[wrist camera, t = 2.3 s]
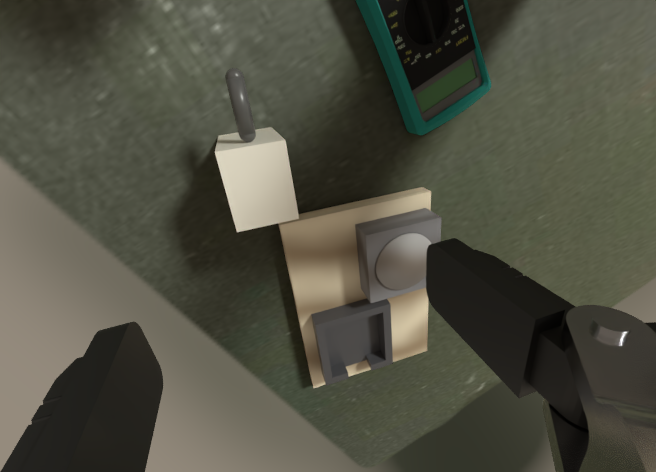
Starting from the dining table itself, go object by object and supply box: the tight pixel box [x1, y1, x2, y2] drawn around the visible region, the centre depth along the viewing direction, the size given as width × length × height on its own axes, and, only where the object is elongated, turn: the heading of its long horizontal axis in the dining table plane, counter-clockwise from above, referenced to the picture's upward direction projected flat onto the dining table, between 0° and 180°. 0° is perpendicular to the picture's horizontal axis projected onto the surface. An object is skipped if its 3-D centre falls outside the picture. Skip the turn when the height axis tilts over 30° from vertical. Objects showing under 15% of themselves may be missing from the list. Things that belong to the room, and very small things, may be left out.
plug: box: [215, 68, 299, 232], centre depth 22 cm, size 10×4×7 cm, turn 8°
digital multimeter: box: [356, 0, 491, 135], centre depth 24 cm, size 7×15×3 cm, turn 31°
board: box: [278, 187, 441, 388], centre depth 32 cm, size 20×14×4 cm
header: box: [311, 298, 393, 385], centre depth 33 cm, size 8×8×2 cm
